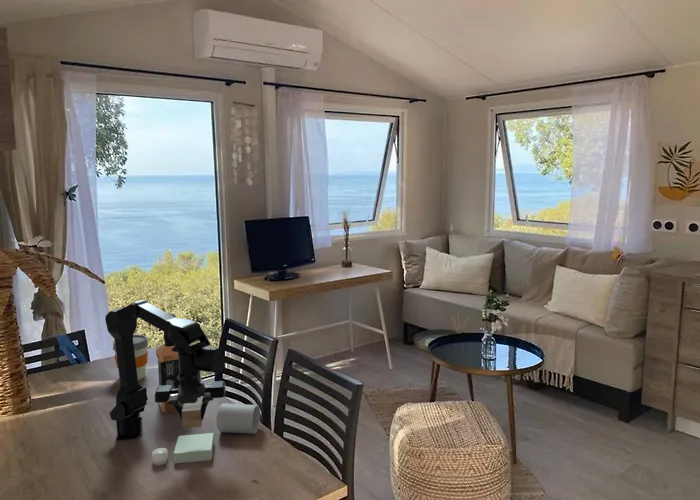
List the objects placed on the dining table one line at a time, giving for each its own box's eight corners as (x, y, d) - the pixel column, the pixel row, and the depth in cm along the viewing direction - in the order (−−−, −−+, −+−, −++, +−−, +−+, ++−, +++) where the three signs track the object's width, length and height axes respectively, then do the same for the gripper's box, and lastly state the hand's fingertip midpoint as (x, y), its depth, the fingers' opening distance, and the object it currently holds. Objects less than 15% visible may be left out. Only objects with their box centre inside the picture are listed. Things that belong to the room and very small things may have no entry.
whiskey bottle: (193, 407, 187) (187, 316, 182) (162, 414, 183) (155, 320, 178) (187, 396, 196) (181, 309, 191) (158, 402, 192) (151, 312, 187)
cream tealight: (151, 466, 151) (150, 456, 151) (154, 458, 155) (153, 448, 155) (166, 464, 152) (166, 454, 151) (169, 457, 156) (168, 447, 155)
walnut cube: (184, 420, 159) (183, 403, 158) (202, 418, 159) (201, 402, 159) (182, 428, 154) (181, 411, 153) (201, 426, 155) (200, 409, 154)
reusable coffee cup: (132, 385, 207) (129, 346, 205) (108, 379, 212) (105, 342, 210) (157, 373, 218) (154, 336, 216) (133, 368, 224) (130, 333, 221)
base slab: (174, 463, 152) (173, 453, 152) (179, 445, 162) (178, 436, 162) (211, 459, 154) (211, 449, 153) (214, 442, 164) (213, 432, 163)
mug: (214, 431, 165) (250, 433, 163) (218, 401, 168) (253, 403, 166) (227, 432, 176) (261, 434, 175) (231, 405, 179) (264, 406, 177)
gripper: (149, 381, 145) (153, 436, 147) (222, 375, 148) (224, 430, 150) (156, 365, 155) (160, 418, 158) (224, 361, 159) (226, 412, 161)
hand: (192, 420), depth 156 cm, fingers closed on walnut cube, 5 cm apart
